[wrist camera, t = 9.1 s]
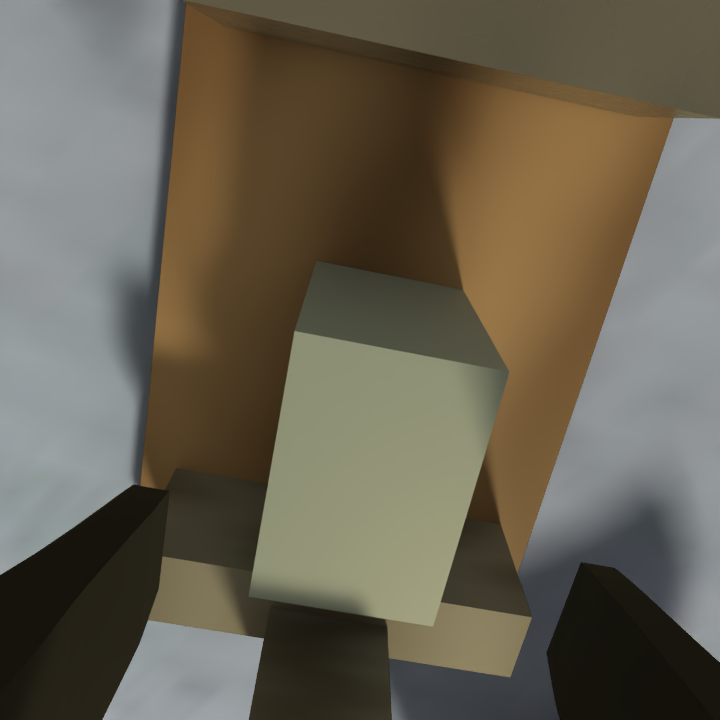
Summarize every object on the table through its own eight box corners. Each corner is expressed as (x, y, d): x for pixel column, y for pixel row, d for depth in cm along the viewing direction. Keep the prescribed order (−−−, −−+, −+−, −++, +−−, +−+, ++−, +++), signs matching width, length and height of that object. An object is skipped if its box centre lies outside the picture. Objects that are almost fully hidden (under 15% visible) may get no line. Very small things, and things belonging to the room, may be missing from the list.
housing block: (463, 289, 18) (509, 371, 12) (413, 480, 20) (433, 626, 14) (316, 260, 18) (294, 331, 12) (281, 457, 20) (248, 596, 14)
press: (687, 0, 17) (1103, -143, 7) (497, 576, 23) (589, 897, 14) (213, -109, 16) (-2, -428, 7) (149, 517, 22) (-8, 816, 13)
